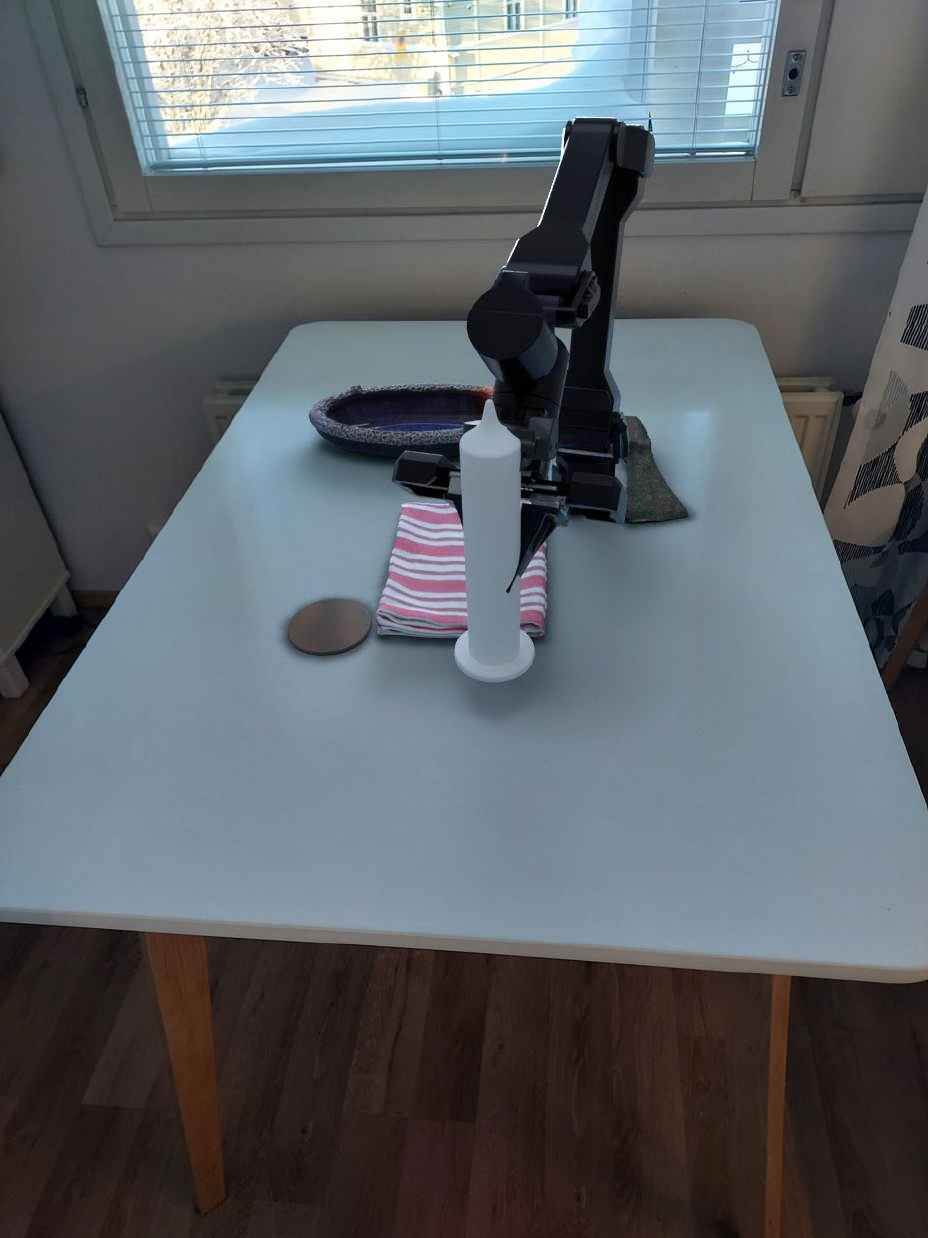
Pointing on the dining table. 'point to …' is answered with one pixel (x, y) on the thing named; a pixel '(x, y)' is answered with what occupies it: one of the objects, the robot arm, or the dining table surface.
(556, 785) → the dining table surface
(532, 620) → the dish towel
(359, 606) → the coaster
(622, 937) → the dining table surface
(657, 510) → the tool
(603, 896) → the dining table surface
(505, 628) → the candle
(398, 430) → the dish
